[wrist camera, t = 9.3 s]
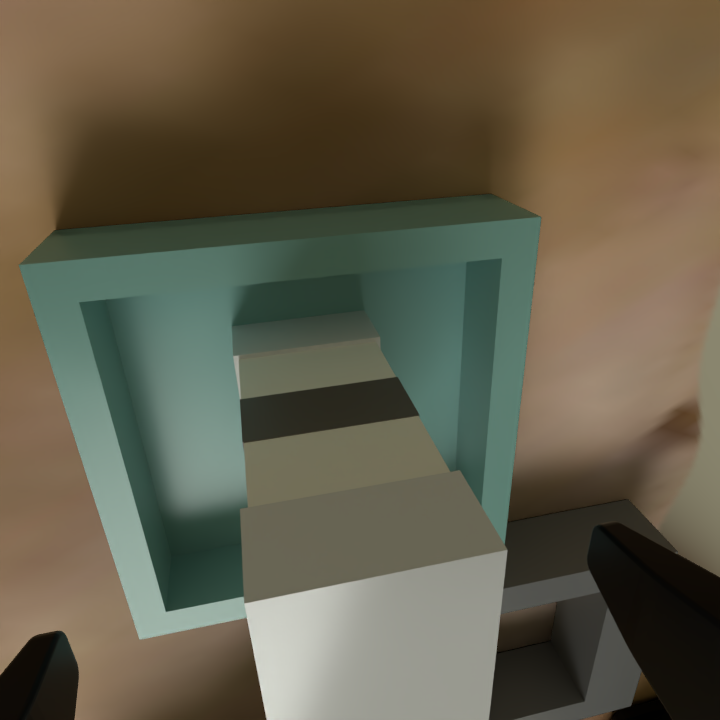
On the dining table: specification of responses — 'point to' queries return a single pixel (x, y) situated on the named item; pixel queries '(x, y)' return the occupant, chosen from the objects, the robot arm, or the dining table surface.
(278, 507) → the block
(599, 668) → the socket block
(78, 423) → the parts tray
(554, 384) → the dining table surface
